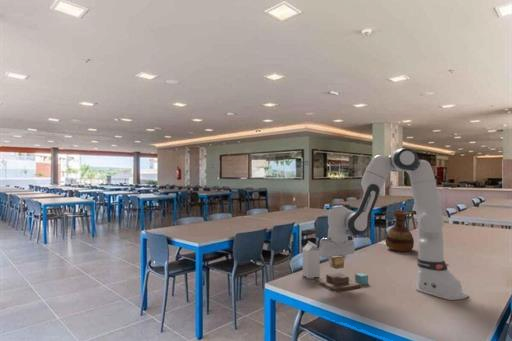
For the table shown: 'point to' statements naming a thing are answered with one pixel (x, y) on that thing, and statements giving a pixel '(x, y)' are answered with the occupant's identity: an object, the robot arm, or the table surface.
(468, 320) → the table surface
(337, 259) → the oak cube
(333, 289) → the walnut base
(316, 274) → the milk carton
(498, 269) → the table surface
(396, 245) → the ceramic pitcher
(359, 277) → the teal cube
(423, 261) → the robot arm
